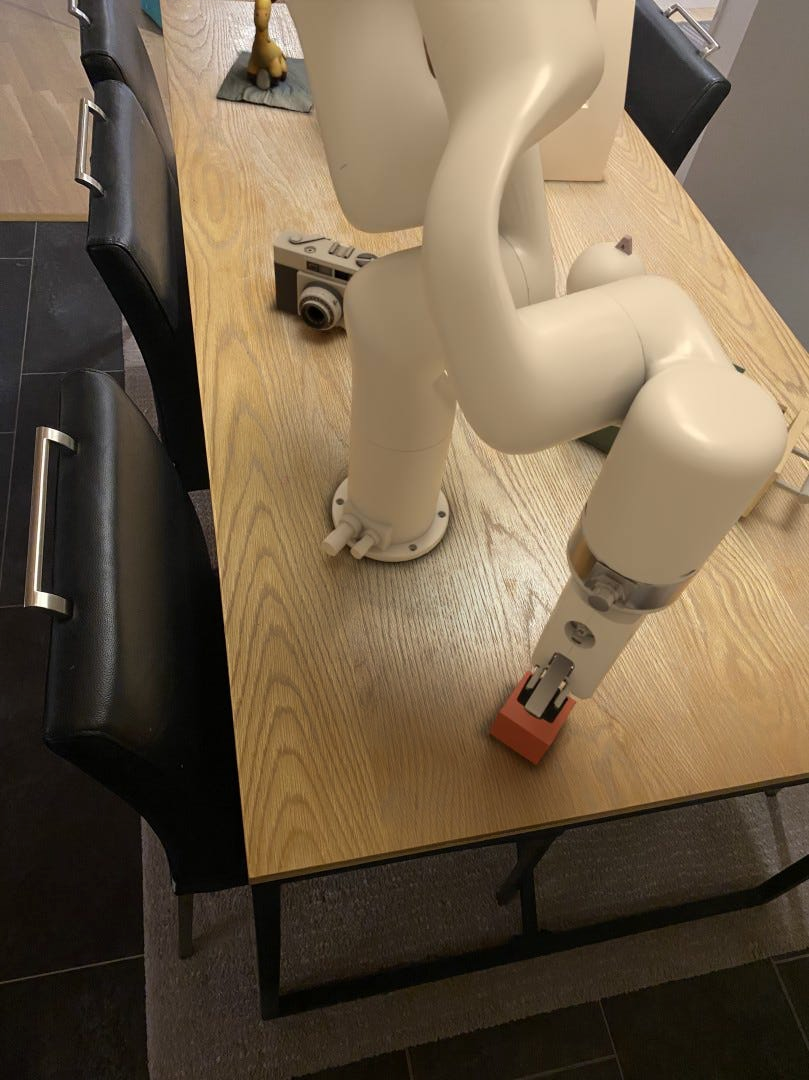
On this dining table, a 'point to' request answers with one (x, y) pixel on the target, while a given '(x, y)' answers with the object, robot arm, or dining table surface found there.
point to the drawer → (794, 431)
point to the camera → (314, 276)
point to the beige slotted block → (594, 104)
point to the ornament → (604, 265)
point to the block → (527, 726)
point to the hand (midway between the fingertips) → (558, 673)
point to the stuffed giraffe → (267, 71)
